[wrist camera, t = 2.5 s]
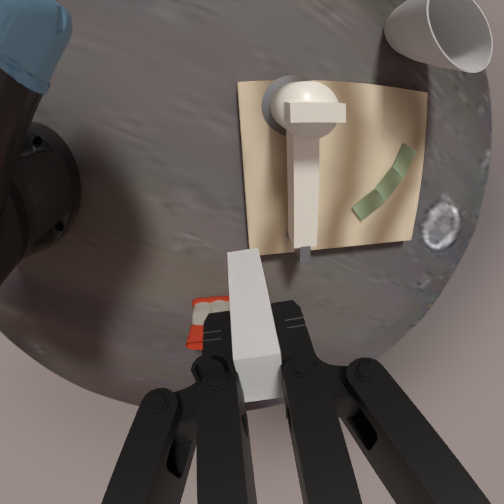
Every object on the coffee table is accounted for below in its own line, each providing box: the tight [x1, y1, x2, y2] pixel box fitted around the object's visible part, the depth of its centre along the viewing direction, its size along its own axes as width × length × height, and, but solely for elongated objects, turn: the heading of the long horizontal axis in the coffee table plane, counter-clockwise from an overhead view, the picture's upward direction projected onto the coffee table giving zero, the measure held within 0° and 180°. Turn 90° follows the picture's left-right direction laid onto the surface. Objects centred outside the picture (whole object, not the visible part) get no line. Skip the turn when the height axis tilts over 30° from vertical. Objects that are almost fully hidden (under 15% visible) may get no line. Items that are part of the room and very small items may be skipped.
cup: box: [384, 0, 493, 73], centre depth 18 cm, size 8×8×10 cm
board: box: [237, 75, 427, 255], centre depth 29 cm, size 20×18×2 cm
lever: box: [270, 81, 346, 263], centre depth 25 cm, size 17×5×7 cm, turn 4°
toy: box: [186, 296, 230, 350], centre depth 37 cm, size 12×10×8 cm
